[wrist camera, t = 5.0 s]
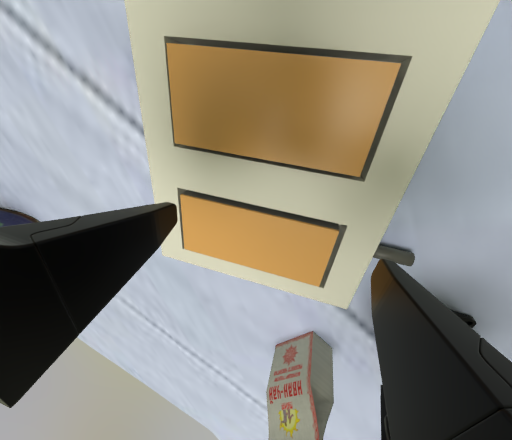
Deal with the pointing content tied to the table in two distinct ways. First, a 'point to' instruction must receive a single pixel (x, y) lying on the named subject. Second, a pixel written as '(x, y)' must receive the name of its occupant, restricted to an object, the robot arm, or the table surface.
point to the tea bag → (300, 389)
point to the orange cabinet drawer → (258, 236)
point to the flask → (14, 218)
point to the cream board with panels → (297, 177)
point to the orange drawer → (278, 105)
